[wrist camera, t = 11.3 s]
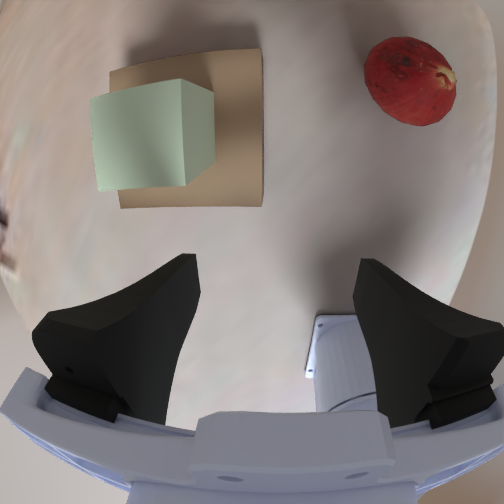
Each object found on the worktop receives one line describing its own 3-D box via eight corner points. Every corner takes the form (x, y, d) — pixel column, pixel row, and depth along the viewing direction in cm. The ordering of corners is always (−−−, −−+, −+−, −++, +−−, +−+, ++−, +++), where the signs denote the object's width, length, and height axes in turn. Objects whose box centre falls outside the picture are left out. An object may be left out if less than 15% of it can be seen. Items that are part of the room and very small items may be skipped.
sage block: (215, 162, 16) (185, 185, 10) (150, 166, 16) (98, 191, 11) (214, 92, 14) (181, 78, 8) (146, 100, 14) (89, 98, 9)
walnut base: (263, 194, 19) (261, 206, 17) (138, 196, 20) (120, 208, 18) (263, 59, 15) (261, 48, 12) (130, 75, 16) (109, 71, 13)
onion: (339, 98, 16) (381, 86, 9) (364, 36, 13) (413, -1, 6) (406, 136, 16) (470, 153, 9) (428, 77, 14) (495, 70, 7)
